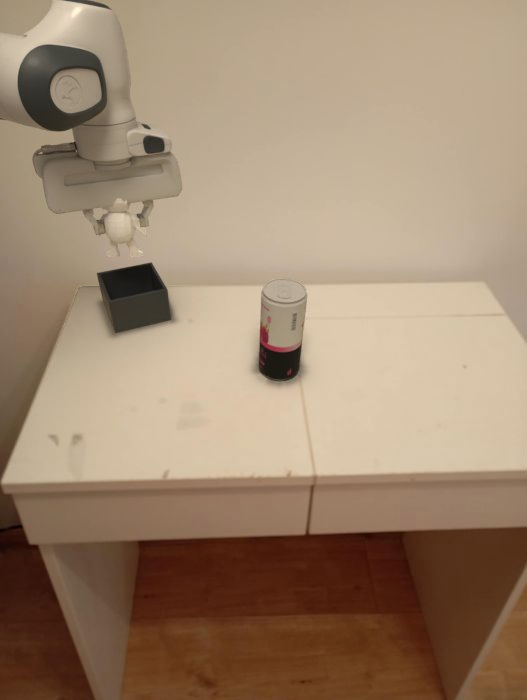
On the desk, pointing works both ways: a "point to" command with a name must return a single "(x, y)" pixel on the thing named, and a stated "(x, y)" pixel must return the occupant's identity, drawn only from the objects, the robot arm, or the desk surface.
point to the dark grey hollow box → (134, 297)
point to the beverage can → (281, 327)
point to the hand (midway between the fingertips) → (122, 229)
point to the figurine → (121, 228)
